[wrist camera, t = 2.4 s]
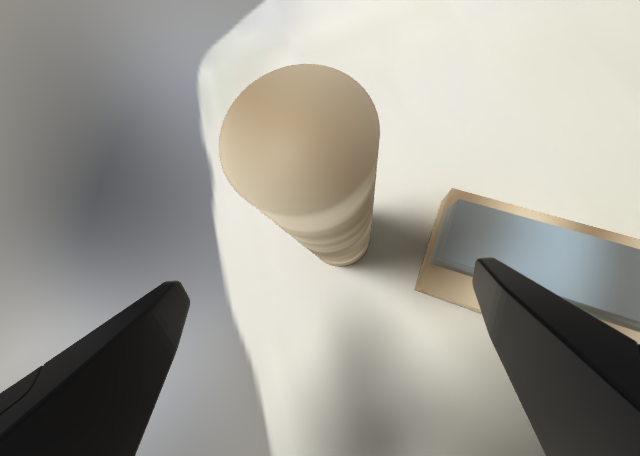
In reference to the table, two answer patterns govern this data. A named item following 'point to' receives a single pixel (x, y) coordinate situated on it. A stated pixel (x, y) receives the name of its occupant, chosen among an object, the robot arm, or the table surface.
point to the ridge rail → (533, 257)
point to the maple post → (306, 157)
